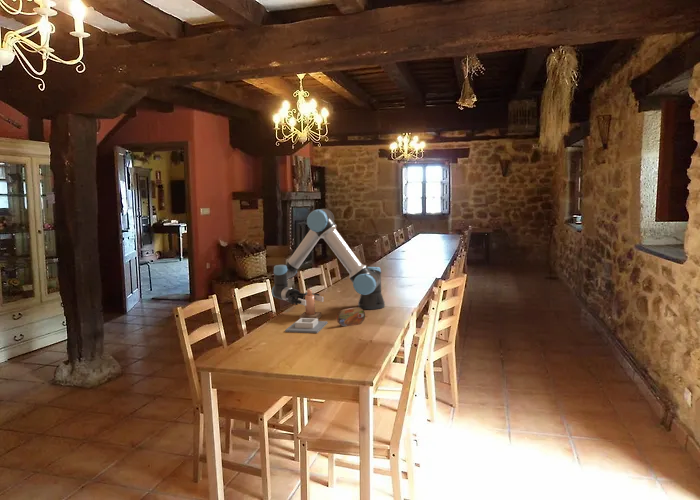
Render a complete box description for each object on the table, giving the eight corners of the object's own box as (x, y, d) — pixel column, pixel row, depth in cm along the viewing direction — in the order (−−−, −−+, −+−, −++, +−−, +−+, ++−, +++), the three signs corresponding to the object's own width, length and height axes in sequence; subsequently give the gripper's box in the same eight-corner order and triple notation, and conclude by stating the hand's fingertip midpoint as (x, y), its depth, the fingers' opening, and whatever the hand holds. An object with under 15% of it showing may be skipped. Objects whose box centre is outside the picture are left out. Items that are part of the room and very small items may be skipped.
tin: (338, 327, 248) (338, 310, 247) (336, 326, 251) (335, 309, 250) (365, 323, 255) (365, 306, 254) (362, 321, 258) (362, 305, 257)
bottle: (316, 312, 269) (315, 288, 267) (313, 315, 264) (312, 290, 262) (307, 312, 270) (306, 288, 268) (304, 314, 265) (303, 290, 264)
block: (321, 316, 271) (321, 312, 270) (316, 321, 262) (316, 316, 262) (305, 316, 273) (304, 311, 272) (299, 320, 264) (299, 315, 264)
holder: (327, 323, 257) (327, 316, 256) (317, 333, 240) (316, 326, 239) (297, 322, 261) (297, 315, 260) (285, 332, 243) (284, 324, 243)
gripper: (308, 298, 288) (332, 304, 271) (273, 305, 273) (296, 312, 256) (307, 285, 287) (331, 290, 270) (272, 291, 272) (295, 297, 255)
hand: (314, 301), depth 263 cm, fingers open, 10 cm apart
